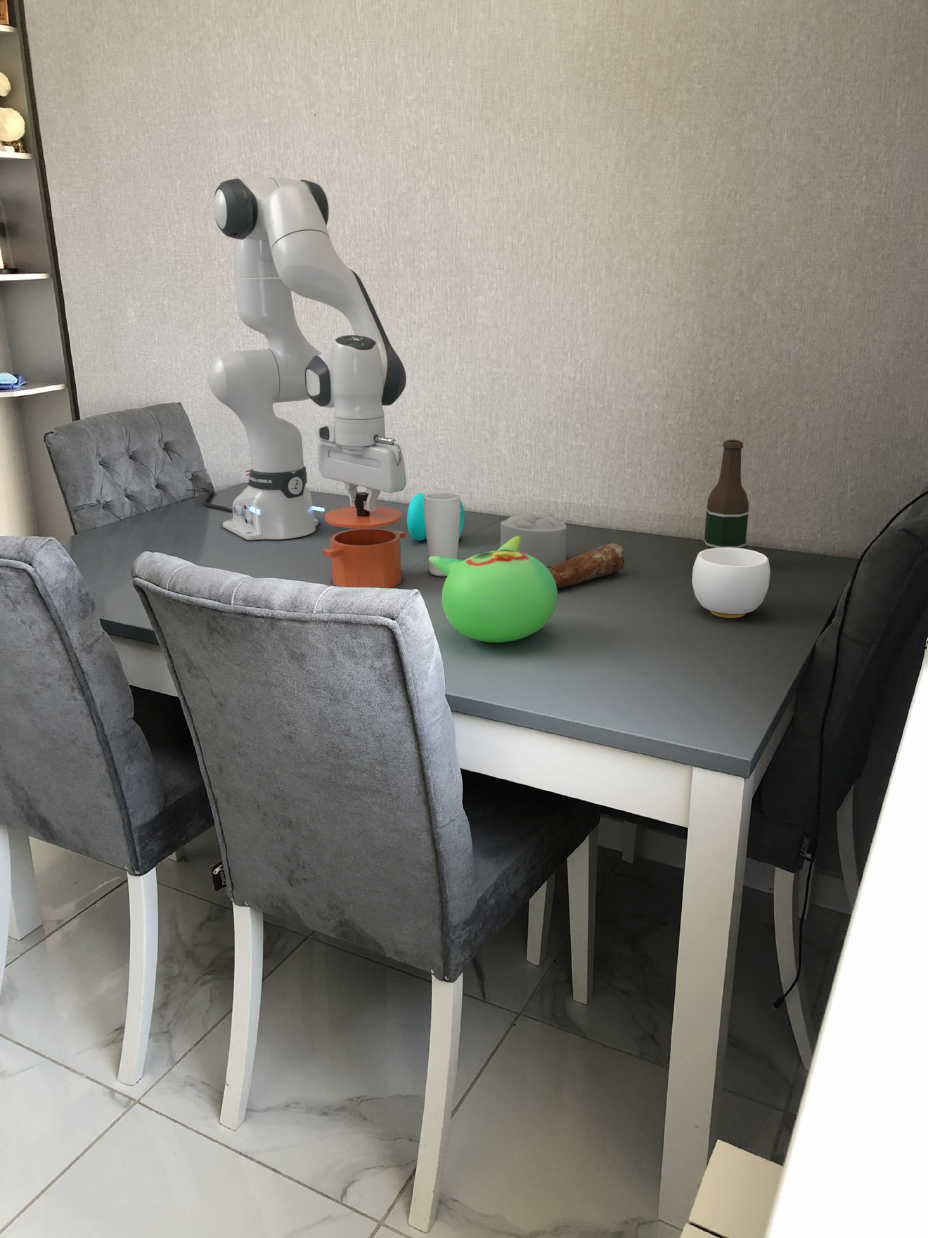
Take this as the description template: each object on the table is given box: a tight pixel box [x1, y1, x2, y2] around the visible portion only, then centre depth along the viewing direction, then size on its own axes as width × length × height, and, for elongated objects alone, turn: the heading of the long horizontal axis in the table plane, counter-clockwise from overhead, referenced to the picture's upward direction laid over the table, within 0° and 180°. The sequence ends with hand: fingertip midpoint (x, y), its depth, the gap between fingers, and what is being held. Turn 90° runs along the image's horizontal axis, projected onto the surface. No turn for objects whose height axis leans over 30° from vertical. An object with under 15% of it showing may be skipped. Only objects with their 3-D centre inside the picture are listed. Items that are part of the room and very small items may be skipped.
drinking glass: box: [424, 491, 461, 577], centre depth 181 cm, size 7×7×15 cm
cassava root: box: [548, 542, 625, 590], centre depth 177 cm, size 6×19×6 cm, turn 128°
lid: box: [324, 491, 402, 529], centre depth 175 cm, size 14×14×5 cm
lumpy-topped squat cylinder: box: [500, 511, 568, 568], centre depth 190 cm, size 10×13×9 cm
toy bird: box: [428, 536, 558, 643], centre depth 149 cm, size 18×17×15 cm
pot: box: [322, 527, 407, 589], centre depth 178 cm, size 13×18×8 cm
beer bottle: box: [702, 439, 750, 551], centre depth 182 cm, size 8×8×24 cm
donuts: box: [406, 493, 465, 542], centre depth 203 cm, size 10×10×10 cm
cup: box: [691, 548, 771, 619], centre depth 160 cm, size 12×12×10 cm
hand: (363, 509), depth 175 cm, fingers closed on lid, 2 cm apart
